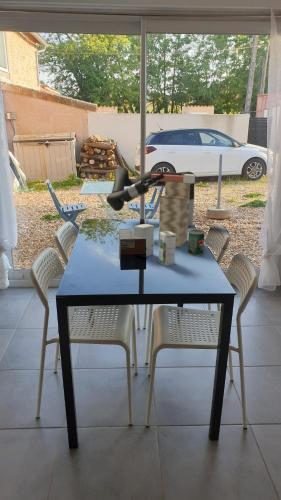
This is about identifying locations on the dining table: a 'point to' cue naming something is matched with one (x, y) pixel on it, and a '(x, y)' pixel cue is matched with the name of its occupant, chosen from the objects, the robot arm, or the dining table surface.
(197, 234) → the canned tomato
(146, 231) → the skincare box
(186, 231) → the stand
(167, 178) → the block
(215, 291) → the dining table surface
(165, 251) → the syrup box
